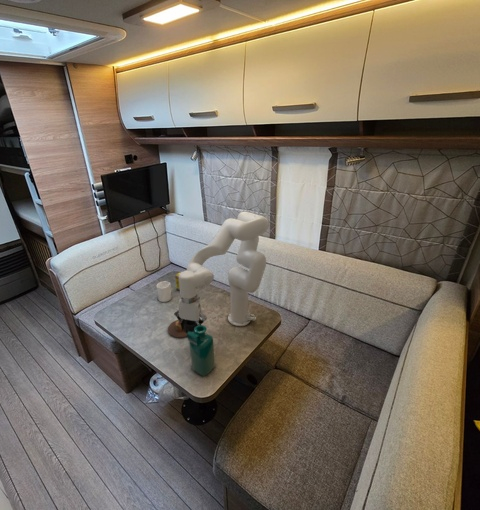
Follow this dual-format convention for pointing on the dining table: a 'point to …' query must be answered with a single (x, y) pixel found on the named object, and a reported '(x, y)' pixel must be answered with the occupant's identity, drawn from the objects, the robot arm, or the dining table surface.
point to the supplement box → (177, 281)
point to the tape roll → (189, 325)
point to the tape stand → (176, 330)
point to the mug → (164, 291)
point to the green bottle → (201, 350)
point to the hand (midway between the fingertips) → (191, 329)
